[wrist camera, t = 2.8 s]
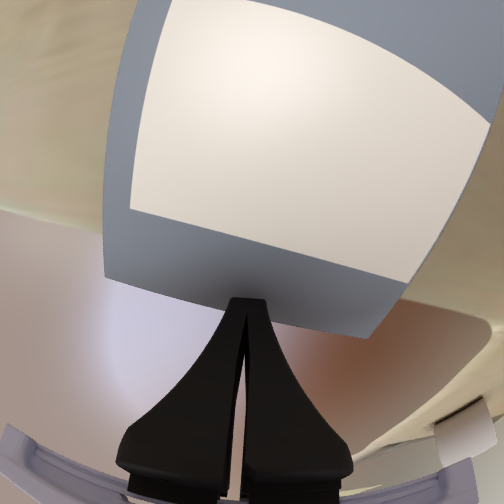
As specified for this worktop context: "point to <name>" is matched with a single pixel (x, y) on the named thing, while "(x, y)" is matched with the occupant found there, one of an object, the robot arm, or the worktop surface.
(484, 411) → the toilet paper
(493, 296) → the worktop surface
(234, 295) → the plate
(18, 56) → the worktop surface
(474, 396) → the worktop surface
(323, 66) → the white rectangular block
